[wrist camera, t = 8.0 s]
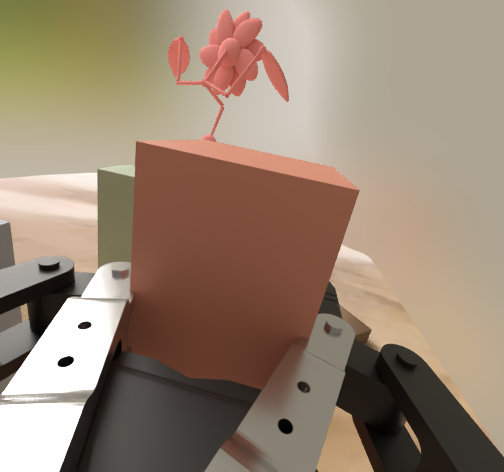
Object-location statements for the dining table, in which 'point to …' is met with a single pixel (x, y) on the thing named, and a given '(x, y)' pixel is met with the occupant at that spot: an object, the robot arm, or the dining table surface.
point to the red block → (230, 255)
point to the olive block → (115, 213)
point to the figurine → (229, 59)
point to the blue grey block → (3, 257)
